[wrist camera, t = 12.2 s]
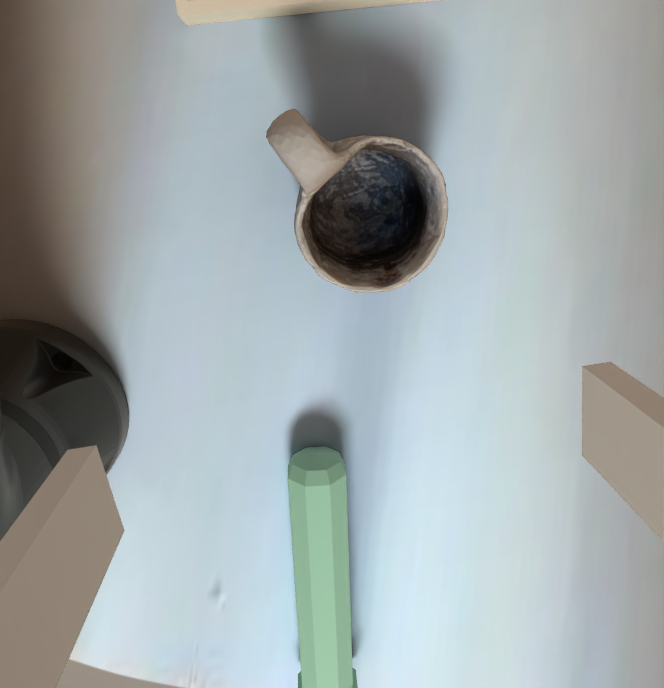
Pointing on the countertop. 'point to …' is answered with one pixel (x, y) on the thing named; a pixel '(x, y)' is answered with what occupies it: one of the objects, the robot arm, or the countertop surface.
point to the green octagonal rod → (321, 567)
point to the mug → (362, 205)
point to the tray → (267, 8)
